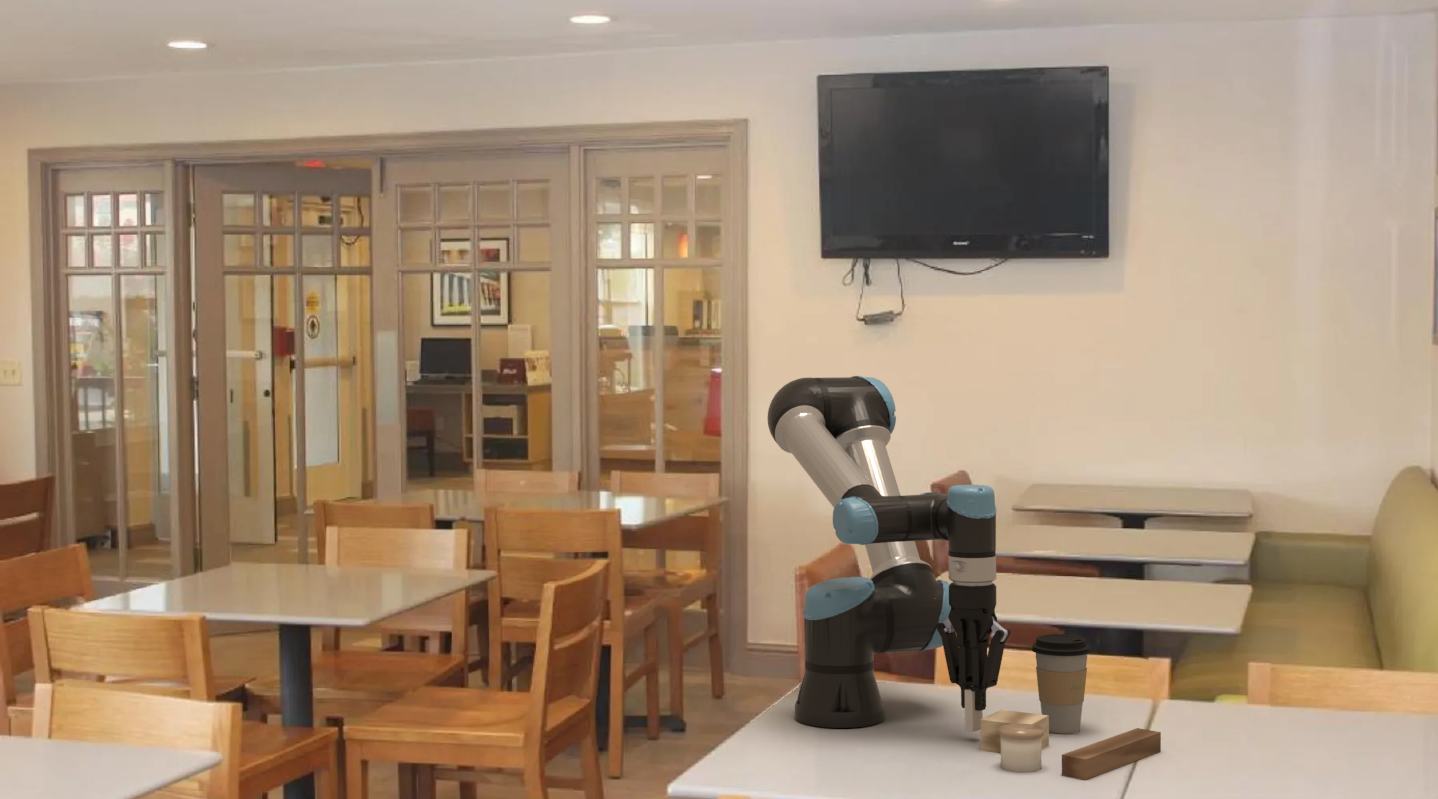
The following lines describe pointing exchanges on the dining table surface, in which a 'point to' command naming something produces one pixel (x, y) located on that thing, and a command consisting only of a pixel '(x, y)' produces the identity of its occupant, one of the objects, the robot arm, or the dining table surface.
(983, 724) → the block
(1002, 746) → the sugar pot
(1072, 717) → the coffee cup
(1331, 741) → the dining table surface
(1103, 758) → the board
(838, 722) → the robot arm
